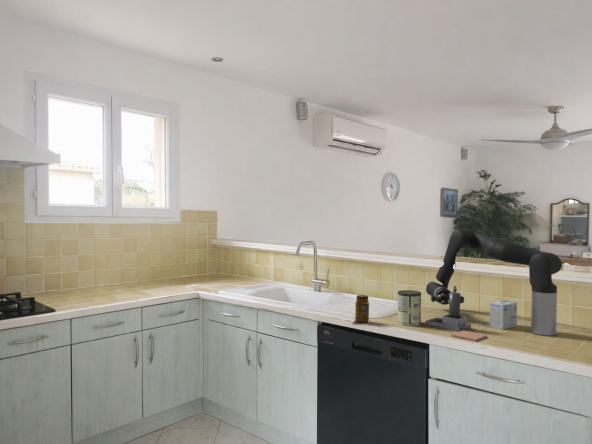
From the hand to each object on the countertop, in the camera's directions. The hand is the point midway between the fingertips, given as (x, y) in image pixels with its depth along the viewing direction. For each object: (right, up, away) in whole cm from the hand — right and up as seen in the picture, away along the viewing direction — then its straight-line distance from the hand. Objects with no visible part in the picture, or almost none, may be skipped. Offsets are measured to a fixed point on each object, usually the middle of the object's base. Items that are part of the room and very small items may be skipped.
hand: (450, 301), depth 205 cm
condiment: (-40, -10, +1) cm, 41 cm away
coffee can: (-19, -10, 0) cm, 21 cm away
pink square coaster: (0, -10, -22) cm, 25 cm away
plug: (-1, -8, -8) cm, 12 cm away
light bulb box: (+22, -10, -5) cm, 24 cm away
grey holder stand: (-3, -10, -6) cm, 12 cm away
